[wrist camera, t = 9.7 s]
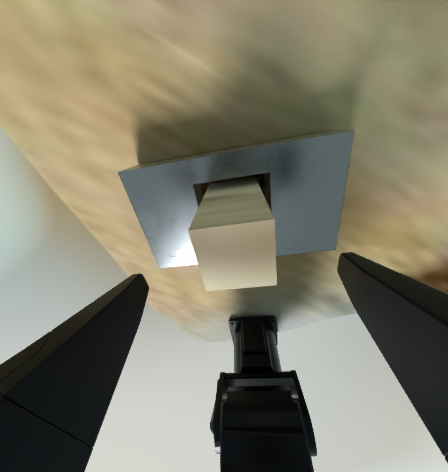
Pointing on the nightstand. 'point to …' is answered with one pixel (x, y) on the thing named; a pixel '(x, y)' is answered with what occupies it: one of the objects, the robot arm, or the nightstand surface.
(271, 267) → the ash peg
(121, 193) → the nightstand surface
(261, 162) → the grey slotted block
